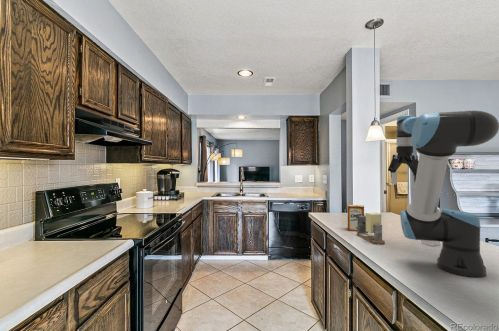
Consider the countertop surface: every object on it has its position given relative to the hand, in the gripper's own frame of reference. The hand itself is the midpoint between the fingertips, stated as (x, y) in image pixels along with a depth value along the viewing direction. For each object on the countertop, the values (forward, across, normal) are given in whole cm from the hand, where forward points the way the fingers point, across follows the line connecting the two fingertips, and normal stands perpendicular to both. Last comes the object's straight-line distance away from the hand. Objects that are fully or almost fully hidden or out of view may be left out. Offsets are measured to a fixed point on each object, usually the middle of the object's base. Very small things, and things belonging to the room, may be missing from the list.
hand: (403, 186), depth 136 cm
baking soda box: (+32, +29, +8) cm, 44 cm away
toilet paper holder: (+31, +10, +13) cm, 35 cm away
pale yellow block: (+25, +6, +13) cm, 29 cm away
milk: (+31, -5, -12) cm, 34 cm away
